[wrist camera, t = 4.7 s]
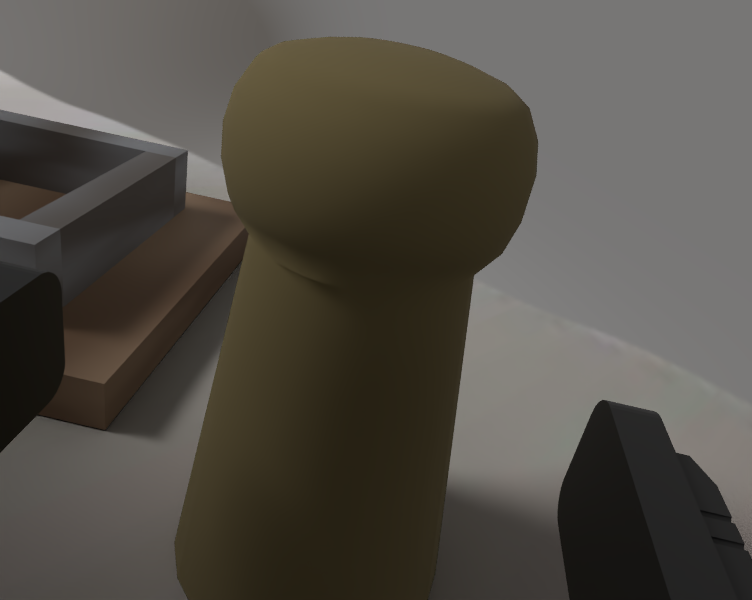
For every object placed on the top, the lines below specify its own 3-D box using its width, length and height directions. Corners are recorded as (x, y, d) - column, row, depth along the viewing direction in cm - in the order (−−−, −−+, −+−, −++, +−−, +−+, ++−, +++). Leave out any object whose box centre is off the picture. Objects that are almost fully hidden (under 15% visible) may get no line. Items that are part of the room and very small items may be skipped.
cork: (185, 450, 17) (210, -4, 12) (406, 454, 19) (511, 49, 13) (157, 675, 12) (181, 45, 7) (467, 658, 13) (675, 123, 8)
